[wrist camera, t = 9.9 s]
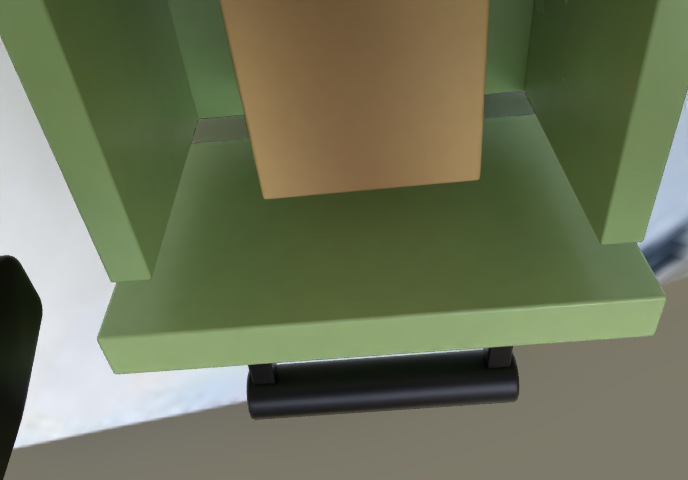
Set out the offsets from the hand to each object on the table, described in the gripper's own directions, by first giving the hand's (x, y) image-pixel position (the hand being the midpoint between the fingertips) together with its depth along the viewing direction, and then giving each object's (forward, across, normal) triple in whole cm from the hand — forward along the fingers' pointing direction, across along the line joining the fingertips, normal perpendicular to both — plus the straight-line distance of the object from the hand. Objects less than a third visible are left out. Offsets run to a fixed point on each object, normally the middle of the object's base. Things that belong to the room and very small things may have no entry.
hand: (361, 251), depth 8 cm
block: (+8, 0, 0) cm, 9 cm away
